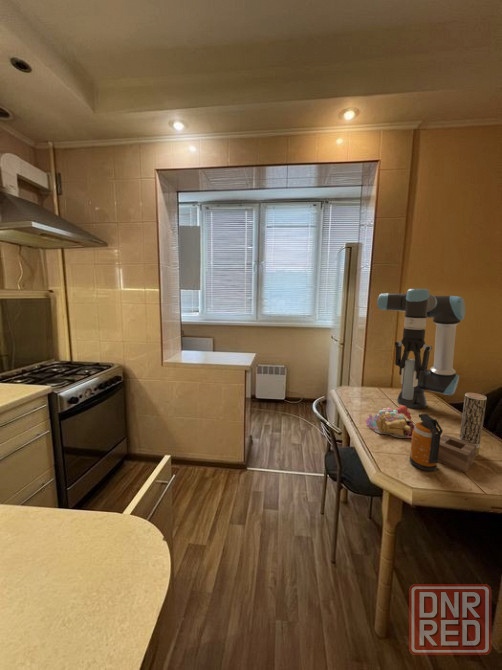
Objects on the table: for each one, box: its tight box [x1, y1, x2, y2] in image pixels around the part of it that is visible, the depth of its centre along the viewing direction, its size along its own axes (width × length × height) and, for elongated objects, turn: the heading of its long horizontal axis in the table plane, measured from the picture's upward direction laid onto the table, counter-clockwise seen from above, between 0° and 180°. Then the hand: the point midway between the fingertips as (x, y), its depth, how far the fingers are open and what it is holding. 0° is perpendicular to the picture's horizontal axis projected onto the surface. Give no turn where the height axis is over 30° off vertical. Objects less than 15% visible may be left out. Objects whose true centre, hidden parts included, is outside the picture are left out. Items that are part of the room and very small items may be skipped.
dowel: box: [402, 358, 416, 400], centre depth 114 cm, size 4×4×16 cm
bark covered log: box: [458, 392, 487, 458], centre depth 115 cm, size 7×7×25 cm
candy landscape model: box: [366, 404, 416, 439], centre depth 138 cm, size 25×24×9 cm
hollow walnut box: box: [438, 433, 477, 473], centre depth 111 cm, size 11×11×7 cm
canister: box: [409, 413, 444, 472], centre depth 106 cm, size 9×11×20 cm
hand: (408, 384), depth 115 cm, fingers closed on dowel, 4 cm apart
